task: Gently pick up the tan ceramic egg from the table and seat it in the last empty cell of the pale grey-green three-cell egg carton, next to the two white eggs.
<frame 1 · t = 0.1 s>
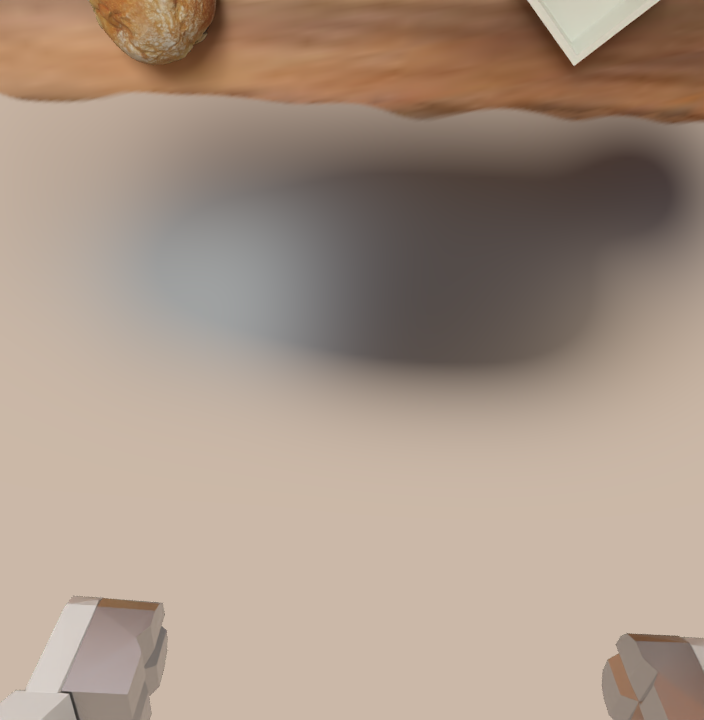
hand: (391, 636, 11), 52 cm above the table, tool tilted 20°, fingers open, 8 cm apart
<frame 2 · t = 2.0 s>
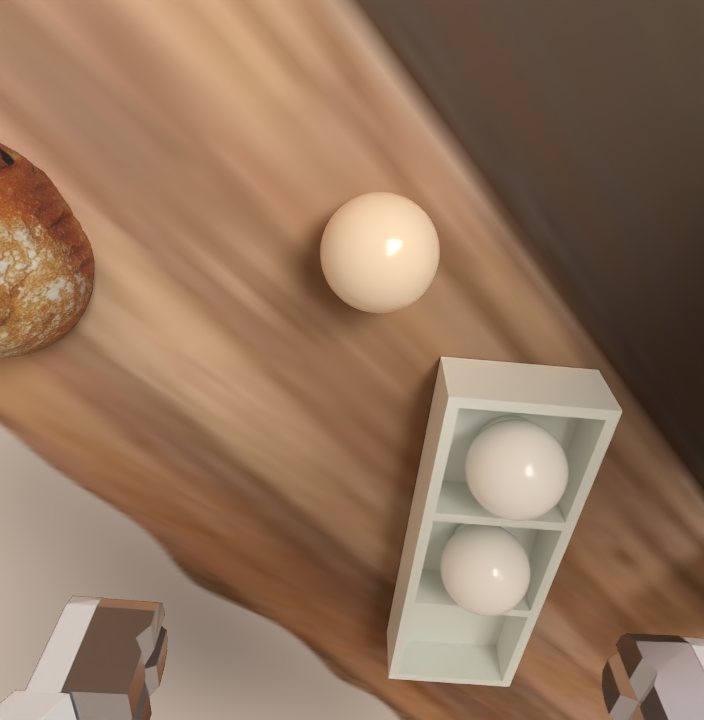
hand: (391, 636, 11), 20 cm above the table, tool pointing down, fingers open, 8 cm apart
tan egg: (378, 232, 28), on the table
white egg 1: (505, 437, 33), point 1 cm above the table, touching egg carton
egg carton: (475, 521, 37), on the table
white egg 2: (477, 534, 37), point 1 cm above the table, touching egg carton
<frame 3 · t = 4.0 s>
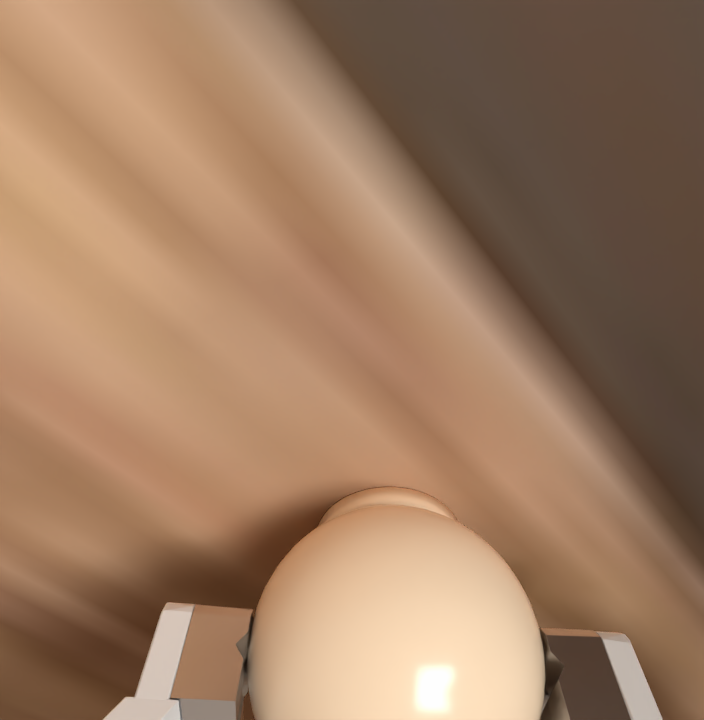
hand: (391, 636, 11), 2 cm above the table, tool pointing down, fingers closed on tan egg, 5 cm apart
tan egg: (388, 540, 13), on the table, touching gripper
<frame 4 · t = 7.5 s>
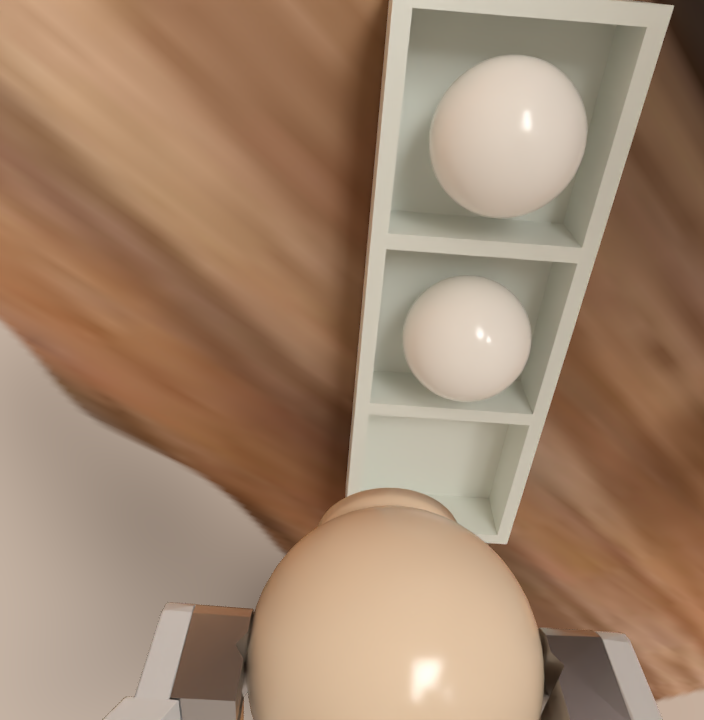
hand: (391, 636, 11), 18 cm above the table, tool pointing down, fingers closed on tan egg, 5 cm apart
tan egg: (387, 540, 13), point 16 cm above the table, touching gripper
white egg 1: (492, 123, 22), point 1 cm above the table, touching egg carton
egg carton: (455, 298, 27), on the table
white egg 2: (457, 308, 26), point 1 cm above the table, touching egg carton
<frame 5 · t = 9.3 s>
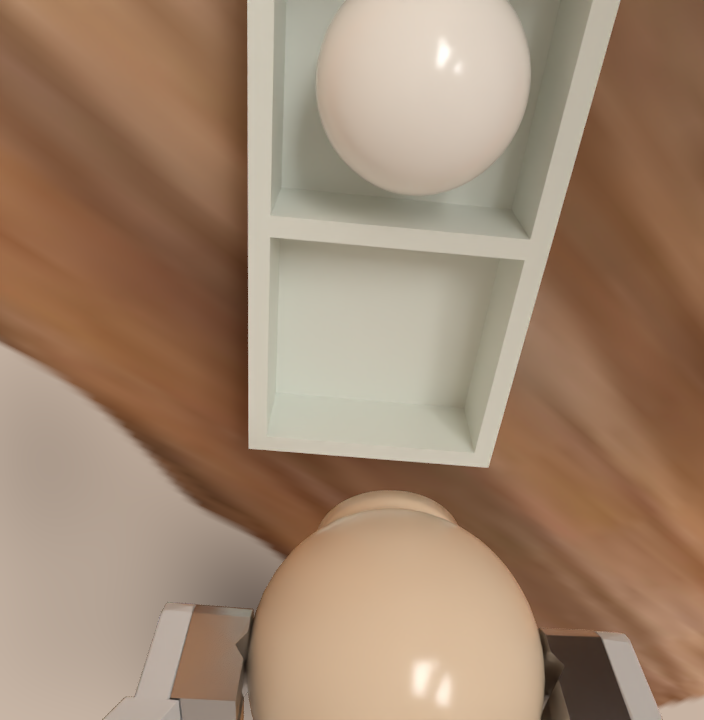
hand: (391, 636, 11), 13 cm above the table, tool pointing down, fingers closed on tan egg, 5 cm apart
tan egg: (388, 543, 13), point 11 cm above the table, touching gripper
egg carton: (411, 67, 17), on the table
white egg 2: (413, 71, 16), point 1 cm above the table, touching egg carton
when the fingers open (5 cm above the table, at t = 11.1 s): tan egg drops 1 cm, resting on egg carton.
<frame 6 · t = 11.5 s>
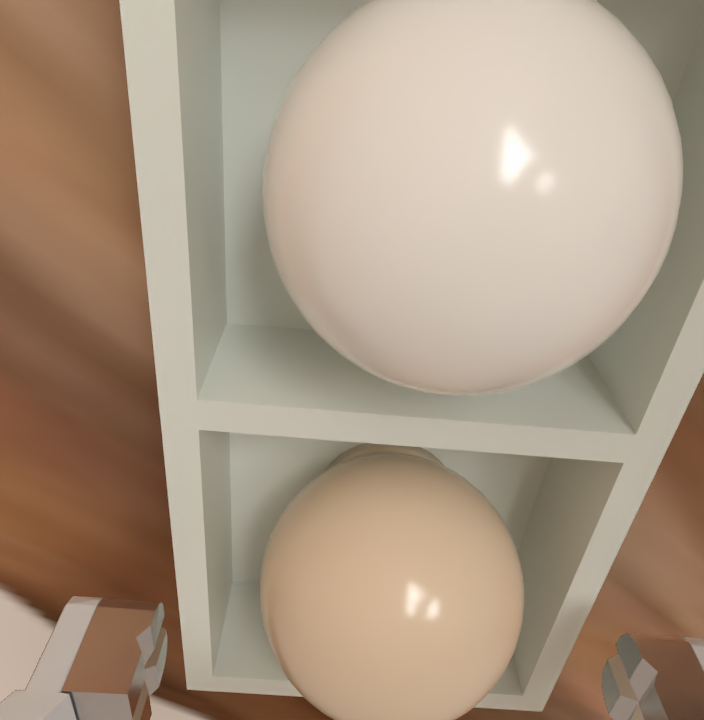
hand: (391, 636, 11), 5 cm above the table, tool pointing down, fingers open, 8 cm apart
tan egg: (385, 491, 14), point 1 cm above the table, touching egg carton
egg carton: (432, 139, 11), on the table
white egg 2: (438, 152, 10), point 1 cm above the table, touching egg carton
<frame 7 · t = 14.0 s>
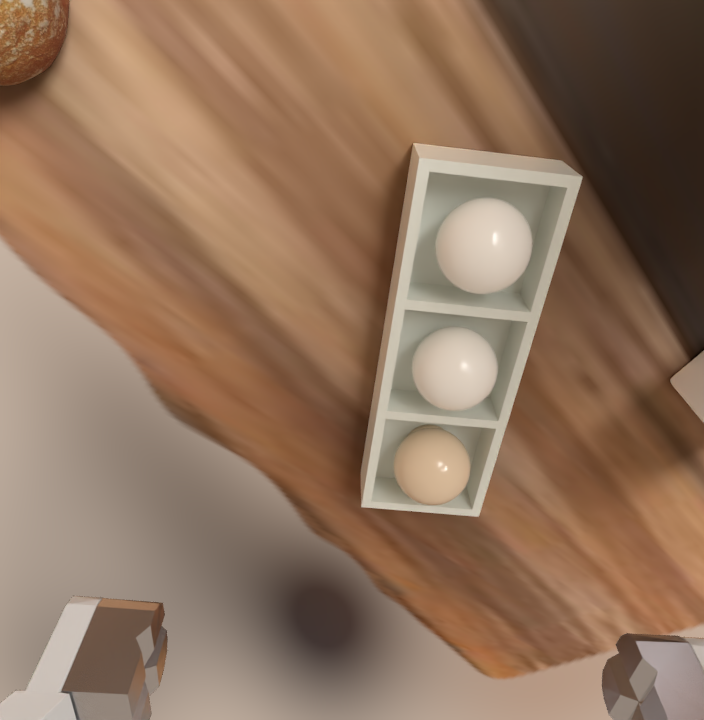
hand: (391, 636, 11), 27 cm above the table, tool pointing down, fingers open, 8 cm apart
tan egg: (427, 441, 42), point 1 cm above the table, touching egg carton
white egg 1: (474, 230, 34), point 1 cm above the table, touching egg carton
egg carton: (446, 339, 39), on the table
white egg 2: (448, 347, 38), point 1 cm above the table, touching egg carton
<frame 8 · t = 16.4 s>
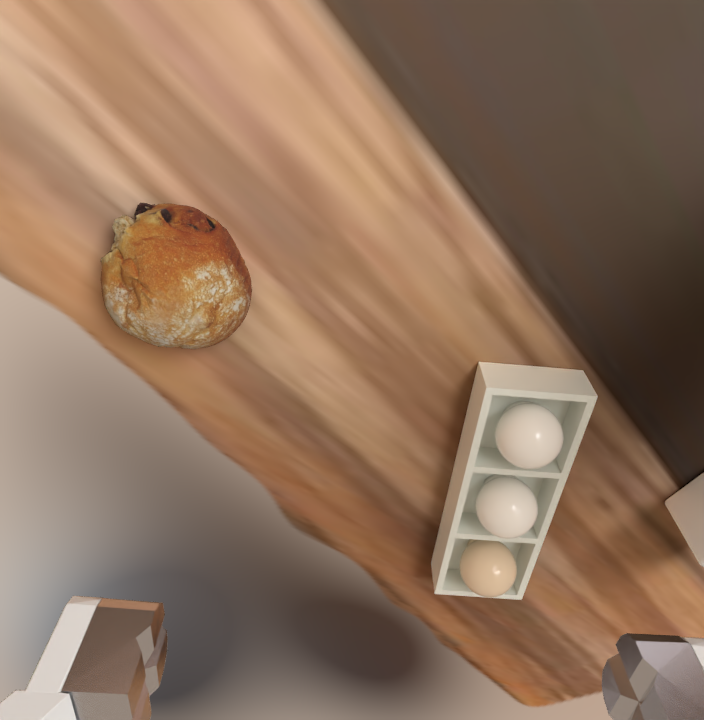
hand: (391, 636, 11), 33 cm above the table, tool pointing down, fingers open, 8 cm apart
tan egg: (483, 545, 56), point 1 cm above the table, touching egg carton
white egg 1: (521, 415, 48), point 1 cm above the table, touching egg carton
bread roll: (182, 266, 43), on the table
egg carton: (498, 477, 53), on the table
white egg 2: (500, 485, 52), point 1 cm above the table, touching egg carton
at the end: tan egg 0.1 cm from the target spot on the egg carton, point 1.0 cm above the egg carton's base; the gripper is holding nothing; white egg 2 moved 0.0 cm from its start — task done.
